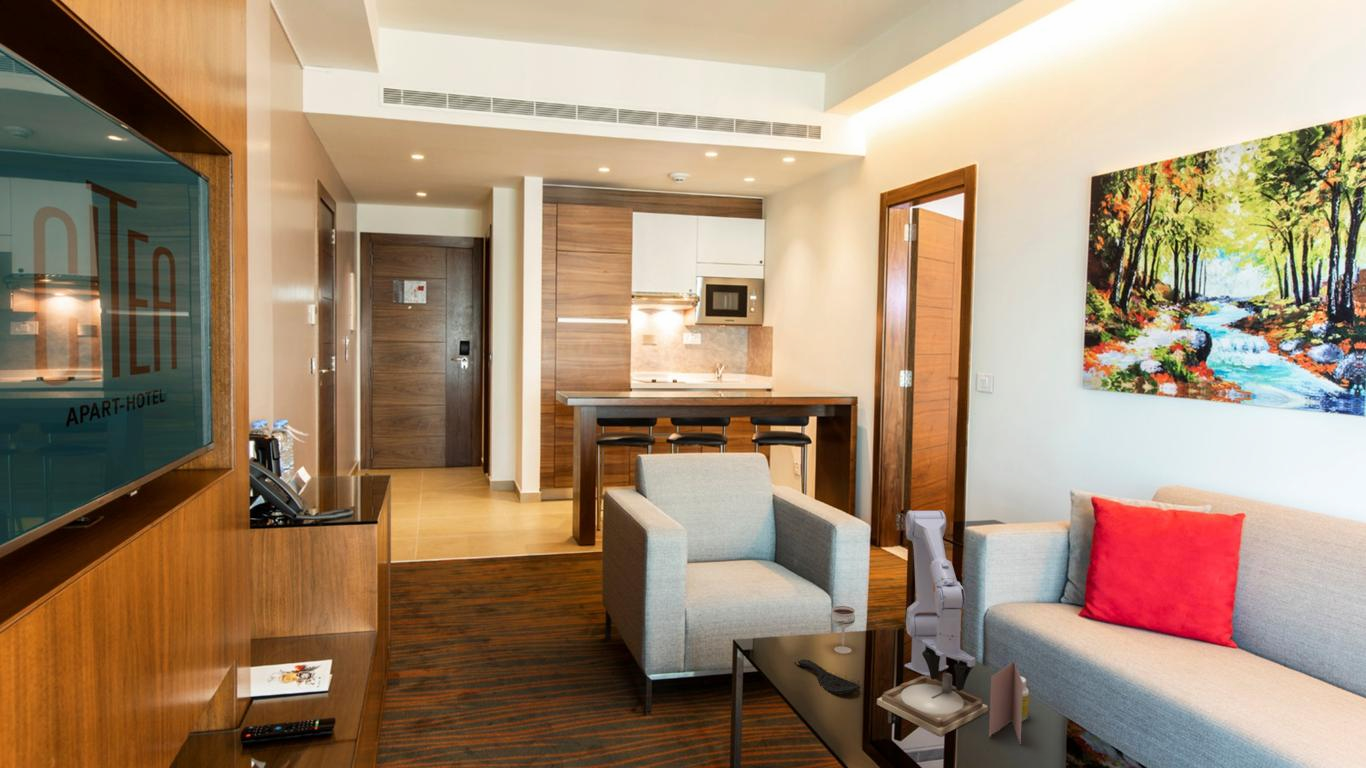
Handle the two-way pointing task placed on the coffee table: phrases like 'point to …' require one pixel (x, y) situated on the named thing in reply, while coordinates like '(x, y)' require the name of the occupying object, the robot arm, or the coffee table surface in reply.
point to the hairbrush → (831, 679)
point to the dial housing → (934, 724)
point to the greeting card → (1006, 699)
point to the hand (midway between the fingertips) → (947, 683)
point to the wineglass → (843, 623)
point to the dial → (933, 698)
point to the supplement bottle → (1025, 699)
